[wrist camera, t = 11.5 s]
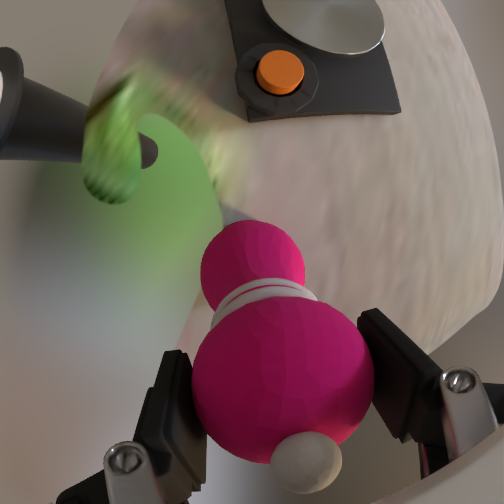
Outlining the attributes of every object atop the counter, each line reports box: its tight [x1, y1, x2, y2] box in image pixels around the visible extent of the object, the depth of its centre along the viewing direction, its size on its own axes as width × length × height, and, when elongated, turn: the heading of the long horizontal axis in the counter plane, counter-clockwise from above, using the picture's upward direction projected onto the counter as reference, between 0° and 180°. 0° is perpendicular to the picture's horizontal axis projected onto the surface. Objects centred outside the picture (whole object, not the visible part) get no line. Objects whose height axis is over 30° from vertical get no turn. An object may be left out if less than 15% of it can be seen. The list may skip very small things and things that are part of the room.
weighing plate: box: [261, 0, 385, 57], centre depth 15 cm, size 11×11×1 cm
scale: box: [224, 0, 401, 123], centre depth 18 cm, size 14×16×3 cm
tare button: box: [256, 50, 304, 95], centre depth 17 cm, size 3×3×2 cm
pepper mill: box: [191, 220, 375, 493], centre depth 14 cm, size 7×7×20 cm
